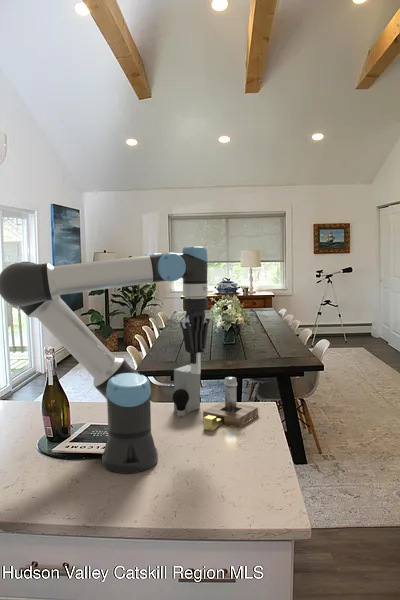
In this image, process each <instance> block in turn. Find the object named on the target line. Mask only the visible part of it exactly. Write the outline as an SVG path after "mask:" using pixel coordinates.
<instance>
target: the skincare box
mask: <svg viewBox="0 0 400 600" xmlns="http://www.w3.org/2000/svg"><path fill="white" fill-rule="evenodd" d="M178 389H184V390H186V391H187V392H188V394H189V401H188V403H187V404H186V407H185V412H184V414H188V413H191V412H193V411H196V410H197V409H200V408H201V374H192V373H191V364H187V365H184V366H180V367H178V368H174V369H173V393H174V392H175V391H176V390H178ZM173 410H174V411H176V412H178V411H177V407H176V405H175V403H174V402H173Z"/></svg>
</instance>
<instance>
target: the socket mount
mask: <svg viewBox="0 0 400 600" xmlns="http://www.w3.org/2000/svg"><path fill="white" fill-rule="evenodd" d="M208 415H210V416H215V417H219V416H220V417H224V423H223V425H226V426H230V427H235V428H241V425H242V426H243V425H245V424H246V422H247V421H248V422H249V420H250V419H252V418H253V419H255V418H256V417H258V416H259V407H258V406H255V405H254V406H253V405H247V404H244V403H243V404H242V403H237V402H236V412H235V413H231V412H226V411H225V400H223V401H221V402H219V403H216V404H215V405H213V406H211V407H209V408H206V409H205V410H203V411H202V420H203V421H204V417H206V416H208ZM257 415H258V416H257ZM255 416H256V417H255ZM254 417H255V418H254ZM253 419H252V420H253ZM250 421H251V420H250ZM248 422H247V423H248ZM244 423H245V424H244Z"/></svg>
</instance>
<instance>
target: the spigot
mask: <svg viewBox="0 0 400 600" xmlns="http://www.w3.org/2000/svg"><path fill="white" fill-rule="evenodd" d="M223 385H224V401H225V411H226V412H231V413H235V412H236V403H237V386H238V382H237V377H235V376H226V377H224V382H223Z"/></svg>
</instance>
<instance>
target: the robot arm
mask: <svg viewBox="0 0 400 600" xmlns="http://www.w3.org/2000/svg"><path fill="white" fill-rule="evenodd" d="M208 263H209V261H208V251H207V248H206V247H204V246H184V247H182V252H179V253H176V252H171V251H170V252H163V253H161V252H159V253H158V252H153V253H145V254H144V255H142V256H139V255H138V256H132V257H130V256H129V257H124V258H116V259H115V258H114V259H105V260H98V261H97V260H96V261H89V262H88V261H87V262H80V263H79V262H78V263H74V264H73V263H71V264H64V265H55V266H54V265H52V264H50V263H49V262H47V263H46V262H45V263H35V262H31V261H20V262H15V263H12V264H9V265H8V266H6V267H5V268H4V269H3V270H2V271H1V272H0V297H1V298H2V299H3V300H4V301H5V302H7V303H8V304H9V305H12V306H14V307H18V308H19V309H20V310H21V311H22V312H23V313H24V314H25V315H26V316H27V317H28V318H36V319H38V321H40V323H41V324H42V325H43V326H44V327H45V328H46V329H47V330H48V331H49V332H50V334H52V335H53V337H54V338H55V339H56V340H57V341H58V342H59V343H60V344H61V345H62V346H63V347H64V348H65V349H66V350H67V351H68V352H69V354H70V355H72V357H73V358H74V359H75V360H76V361H77V362H78V363H79V364H80V365H81V366H82V367H83V368H84V370H86V371H87V373H88V374H89V375H90V376H91V377H92V379H93V384H92V385H93V386H94V387H95V388H96V390H97V391H98V392H99V393H100V394H101V395H102V396H103V398H105V400H106V404H107V432H108V433H107V434H108V435H107V439H106V441H105V445H104V450H103V453H102V456H101V458H102V460H101V462H102V466H103V468H104V469H106V470H108V471H110V472H113V473H116V474H117V473H118V474H119V473H120V474H132V473H134V474H135V473H139V472H143V471H146V470H149V469H152V468H153V467H154V466H155V465H156V464H158V461H159V452H158V449H157V447H156V445H155V441H154V438H153V435H152V425H151V424H152V422H151V421H152V420H151V419H152V418H151V416H152V415H151V409H152V408H151V393H152V388H151V384H150V380H149V378H148V377H147V376H145V375H143V374H140V372H138V371H137V370H136V369H135V368H133V367H132V366H131V365H130V364H129V363H128V362H127V360H125V359H124V358H123V357H115V355H114V354H113V353H112V352H111V351H110V350H109V349H108V348H107V347H106V345H104V344H103V343H102V341H101V340H100V339H99V338H98V337H97V335H95V334H94V333H93V332H92V330H91V329H90V328H89V327H88V326H87V325H86V324H85V323H84V322H83V321H82V320H81V319H80V317H79V316H78V315H77V314H76V313H75V312H74V311H73V310H72V309H71V308H70V306H69V305H67V303H66V302H65V301H64V300H63V299H62V298H61V296H62V295H70V294H78V293H84V292H86V293H87V292H91V291H100V290H108V289H115V288H121V287H122V288H123V287H130V286H137V285H144V284H151V283H161V282H162V283H163V282H174V281H178V280H179V279H182V296H183V297H184V298H183V299H182V310H184V312H185V316H184V318H185V319H184V321H180V324H179V325H180V327H181V330H182V336H183V343H184V349H185V352H186V353H189V357H190V359H189V361H190V365H191V373H192V374H200V375H201V373H202V371H201V370H202V369H201V365H202V363H201V362H202V353H204V352H205V349H206V344H207V336H208V328H209V324H210V321H211V319H210V318H209V317H206V313H205V311H207V310H208V309H209V308H208V307H209V302H208V300H209V299H208V298H207V296H208V288H209V287H208V266H209V265H208Z"/></svg>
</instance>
